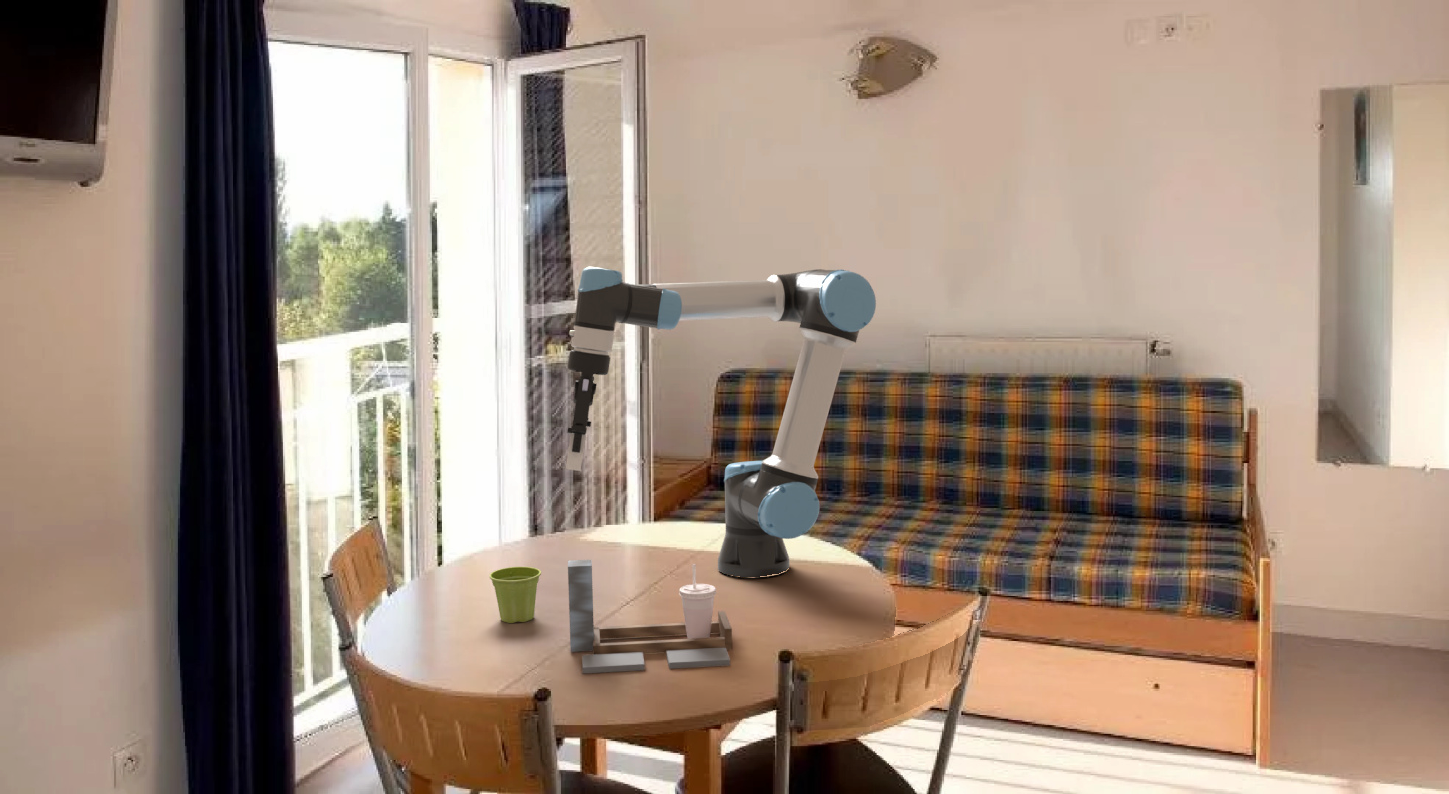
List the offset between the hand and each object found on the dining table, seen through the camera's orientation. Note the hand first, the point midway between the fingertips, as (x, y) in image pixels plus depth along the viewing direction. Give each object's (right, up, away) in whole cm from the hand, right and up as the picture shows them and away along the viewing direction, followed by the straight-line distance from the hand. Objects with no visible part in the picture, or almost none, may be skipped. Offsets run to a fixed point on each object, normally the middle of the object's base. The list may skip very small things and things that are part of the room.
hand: (574, 465), depth 227 cm
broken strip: (+16, -31, -25) cm, 43 cm away
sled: (+15, -30, -16) cm, 37 cm away
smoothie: (+23, -30, -15) cm, 41 cm away
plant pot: (-11, -29, 0) cm, 31 cm away
